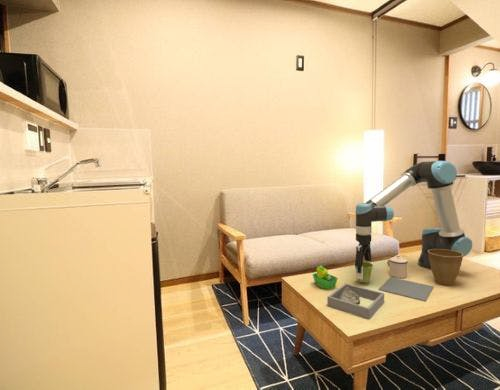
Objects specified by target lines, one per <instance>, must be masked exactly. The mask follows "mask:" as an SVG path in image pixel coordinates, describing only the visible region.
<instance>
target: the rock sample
mask: <svg viewBox="0 0 500 390" xmlns="http://www.w3.org/2000/svg"><path fill="white" fill-rule="evenodd" d="M339 299H340V300H344V301H347V302H350V303H354V304H357V305H360V304H361V298H360V296H358V295H357V294H356V293H355V292H353V291H352V290H350V288H348V287H346V288H345V290H344V291H343V293H342V295H341V296H340V298H339Z"/></svg>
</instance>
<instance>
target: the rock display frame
mask: <svg viewBox="0 0 500 390" xmlns="http://www.w3.org/2000/svg"><path fill="white" fill-rule="evenodd" d="M346 287H348V288H350V290H352V291H353V292H355V293H356V294H357V295H358V296H359V297H361V298H365V299H369V300H373V301H372V302H371V304H370V305H369V306H368V307H367V306H363V305H360V304H358V305H357V304H354V303H350V302H347V301H344V300H340V299H339V298H340V296H341V295H342V293H343V291H344V290H345V288H346ZM326 301H327V304H326V305H327V306H328V307H331V308H333V309H338V310H340V311H343V312H347V313H350V314H353V315H355V316H358V317H362V318H365V319H369V320H370V319H371V318H372V317H373V316H374V314H375V313H376V312H377V311H378V310H379V309H380V308H381V306H382V305H383V304H384V303H385V293H384V292H382V291H377V290H374V289H373V290H372V289H370V288H369V289H368V288H365V287H361V286H357V285H354V284H349V283H343V284H342V285H341V286H340V287H339V288H337V289H335V291H333V292H332V293H330V294H329V295H328V296H327V300H326Z"/></svg>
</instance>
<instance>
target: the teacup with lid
mask: <svg viewBox="0 0 500 390" xmlns="http://www.w3.org/2000/svg"><path fill="white" fill-rule="evenodd" d="M386 264H387V266H388V268H389V275H390V277H393V278H397V279H405V278H407V276H408V260H407V259H406V258H404V257H402V256H401V255H400V254H396V255H395V256H392V257H390V258H389V259H388V260H387V262H386Z"/></svg>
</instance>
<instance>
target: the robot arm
mask: <svg viewBox="0 0 500 390" xmlns="http://www.w3.org/2000/svg"><path fill="white" fill-rule="evenodd" d="M457 175H458V171H457V167H456V166H455V165H454V164H453V163H452V162H450V161H448V160H431V161H430V160H429V161H421V162H418V163H416V164H413V165H412V166H410V167H409V168H408V169H406V170H404V171H403V172H402V173H401V174H400V177H398V178H397V179H396V180H394V181H393V182H392V183H390V184H388V186H386V187H385V188H384V189H383V190H381V191H379V192H378V193H376V194H375V195H374V196H373V197H371V198H370V199H369V200H368V201H366V202H364V203H357V204H356V206H355V226H354V228H355V241H356V242H358V246H356V247H355V248H356V249H355V250H356V253H355V262H354V263H355V265H354V267H355V266H357V274H356V279H357V278H358V279H363V267H362V264H363V262H368V263H371V262H372V261H373V259H372V251H371V250H372V249H371V242H372V233H373V231H372V223H375V222H388V221H392V220H393V219H394V216H395V212H394V209H393V208H392V207H391V206H387V205H388V204H389V203H390V202H391V201H393V200H394V199H396V198H397V197H399V196H400V195H401V194H402V193H404V192H405V191H406V190H408V189H410V187H415V186H416V185H418V184H420V183H426V186H427V189H429V190H431V192H432V193H431V194H432V197H433V202H434V206H435V209H436V214H437V218H438V223H439V227H426V228H423V229H422V230H421V231H422V233H421V252H420V255H419V256H418V260H417V265H419V266H420V267H422V268H426V269H430V270H432V269H431V266H430V262H429V256H428V250H430V249H446V250H453V251H457V252H460V253H462V254H463V258H464V257H466V256H468V255H469V254H470V253H471V251H472V249H473V241H472V239H471V238H469V237H468V236H466V233H465V231H464V230H463V229H462V228H461V227H460V223H459V219H458V214H457V210H456V206H455V205H456V204H455V201H454V197H453V196H454V195H453V192H452V188H451V187H452V186H453V185H454V182H455V180H456V178H457Z"/></svg>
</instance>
